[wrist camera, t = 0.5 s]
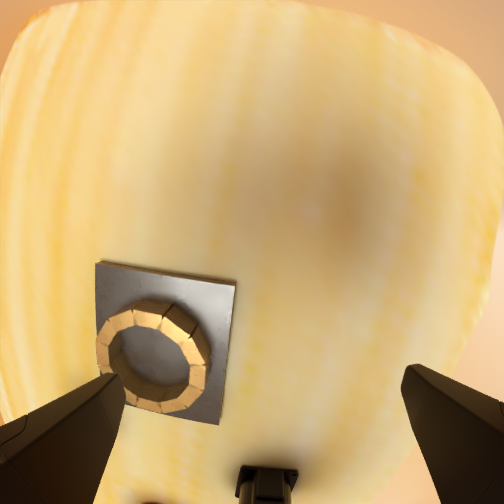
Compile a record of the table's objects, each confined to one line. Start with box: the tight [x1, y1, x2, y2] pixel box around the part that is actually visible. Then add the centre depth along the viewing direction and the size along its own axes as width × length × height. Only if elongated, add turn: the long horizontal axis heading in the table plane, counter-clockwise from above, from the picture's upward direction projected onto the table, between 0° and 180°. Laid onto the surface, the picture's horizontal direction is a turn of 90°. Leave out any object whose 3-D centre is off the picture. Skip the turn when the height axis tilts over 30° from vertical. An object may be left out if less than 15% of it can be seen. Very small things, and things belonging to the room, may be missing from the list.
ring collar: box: [95, 261, 236, 425], centre depth 24 cm, size 14×12×4 cm
